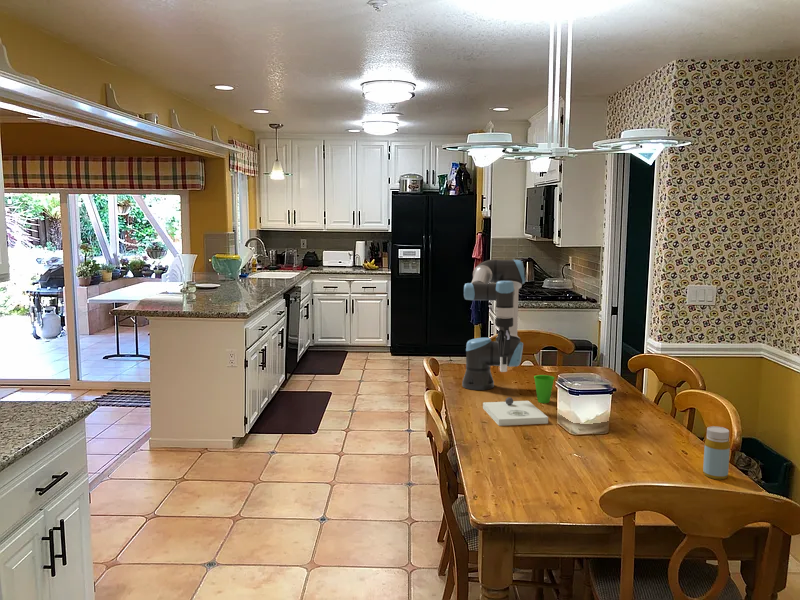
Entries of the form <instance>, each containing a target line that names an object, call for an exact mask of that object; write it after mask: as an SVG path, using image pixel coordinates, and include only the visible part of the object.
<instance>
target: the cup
mask: <svg viewBox="0 0 800 600" xmlns="http://www.w3.org/2000/svg"><path fill="white" fill-rule="evenodd" d="M533 378H534V384H535V391H536V399H537V402H538V403H541V404H549V403H550V402H551V395H552V390H553V386H554V381H555V379H556V378H555V377H554V376H553V375H550V374H548V375H547V374H538V375H536V374H535V375H534V376H533Z"/></svg>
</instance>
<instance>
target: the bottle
mask: <svg viewBox="0 0 800 600" xmlns="http://www.w3.org/2000/svg"><path fill="white" fill-rule="evenodd" d="M729 437H730V430H729V429H728V428H725V427H723V426H714V425H712V426H708V427H707V428H706V438H705V441H704V450H703V452H704V453H703V466H702V470H703V475H704V476H705V477H707V478H709V479H712V480H717V481H718V480H719V481H720V480H726V479H727V478H728V476H729V467H730V466H729V465H730V464H729V463H730V450H731V447H730V446H731V445H730V443H729V441H730V440H729Z"/></svg>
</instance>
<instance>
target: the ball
mask: <svg viewBox="0 0 800 600" xmlns="http://www.w3.org/2000/svg"><path fill="white" fill-rule="evenodd" d="M513 401H514V399H513V398H512V397H507V398H505V402H506V404H508V405H511V404H512V403H513Z"/></svg>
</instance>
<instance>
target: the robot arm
mask: <svg viewBox="0 0 800 600" xmlns="http://www.w3.org/2000/svg"><path fill="white" fill-rule="evenodd" d="M525 277H526V276H525V268H524V263H523V261H522V260H521V259H514V258H513V259H487V260H485V261H483V262H480V263H479V264H477V265H476V266H475V267H474V268H473V271H472V280H471V282H467V283H464V285H463V298H464V300H466V301H494V302H495V309H494V312H495V326H496V327H499V328H498V330H497V331H496V334H497V336H495V340H494V341H492V339H491V337H476V338H472V339H469V340H467V342H466V345H465V347H466V348H465V355H466V356H465V357H466V358H465V359H466V361H465V373H464V376H463V378H462V384H461V386H462V388H464V389H467V390H471V391H472V390H473V391H474V390H475V391H486V390H491V389H494V387H495V382H494V377H493V375H492V372H491V366H495V367H499V372H501V373H506V372H508V367H509V368H510V367H519V366H520V365H521V362H522V357H523V356H522V355H523V349H524V342H522V341H521V337H519V336H518V327H519V326H518V320H519V318H518V316H519V290H520V289H521V288H522V286H523V284H525V283H526V279H525Z"/></svg>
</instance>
